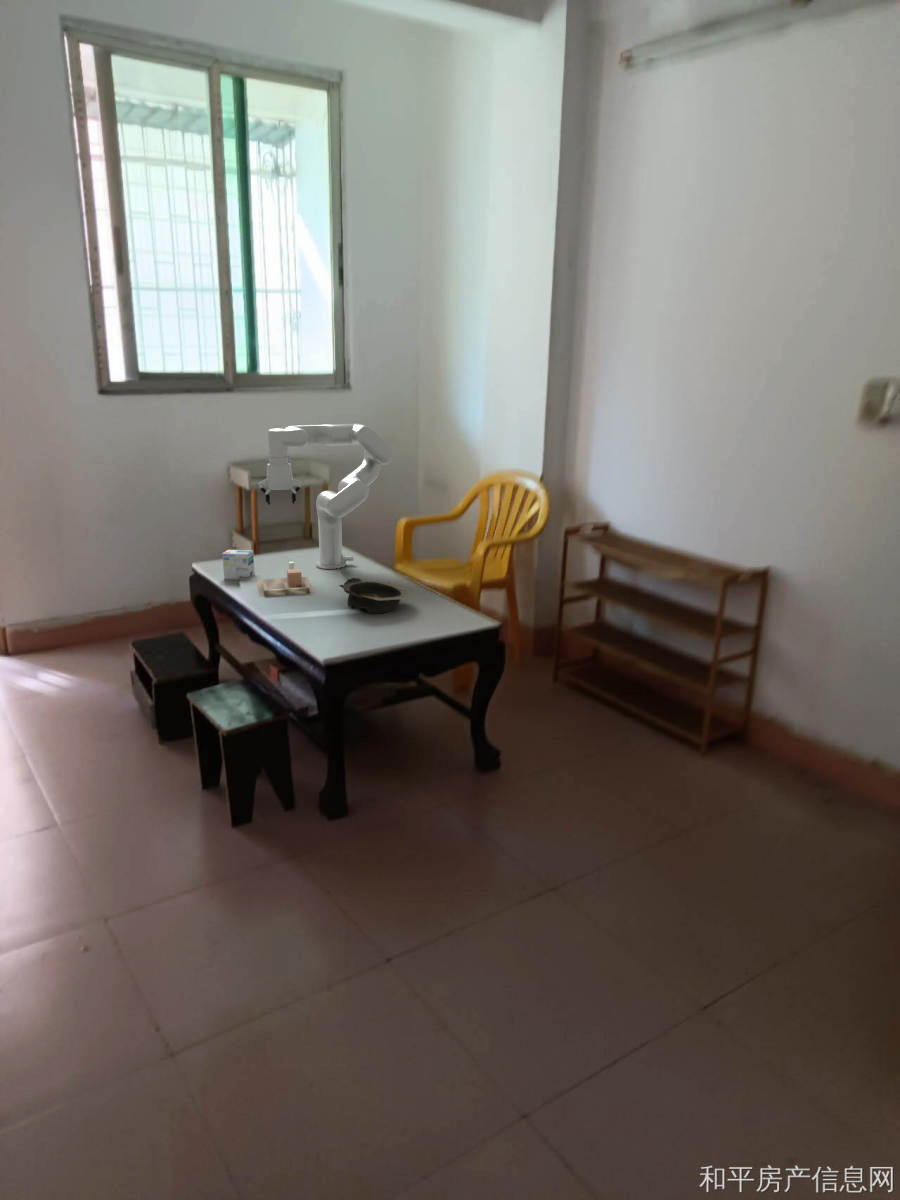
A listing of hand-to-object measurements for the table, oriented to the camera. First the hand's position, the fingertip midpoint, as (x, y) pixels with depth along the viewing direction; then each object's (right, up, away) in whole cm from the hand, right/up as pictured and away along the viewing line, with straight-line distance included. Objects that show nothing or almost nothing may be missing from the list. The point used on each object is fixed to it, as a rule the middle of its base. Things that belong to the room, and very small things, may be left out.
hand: (281, 503), depth 330 cm
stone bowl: (+41, -42, -33) cm, 67 cm away
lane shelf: (+5, -35, -16) cm, 38 cm away
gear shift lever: (+7, -31, -9) cm, 33 cm away
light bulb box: (-16, -30, -1) cm, 34 cm away
